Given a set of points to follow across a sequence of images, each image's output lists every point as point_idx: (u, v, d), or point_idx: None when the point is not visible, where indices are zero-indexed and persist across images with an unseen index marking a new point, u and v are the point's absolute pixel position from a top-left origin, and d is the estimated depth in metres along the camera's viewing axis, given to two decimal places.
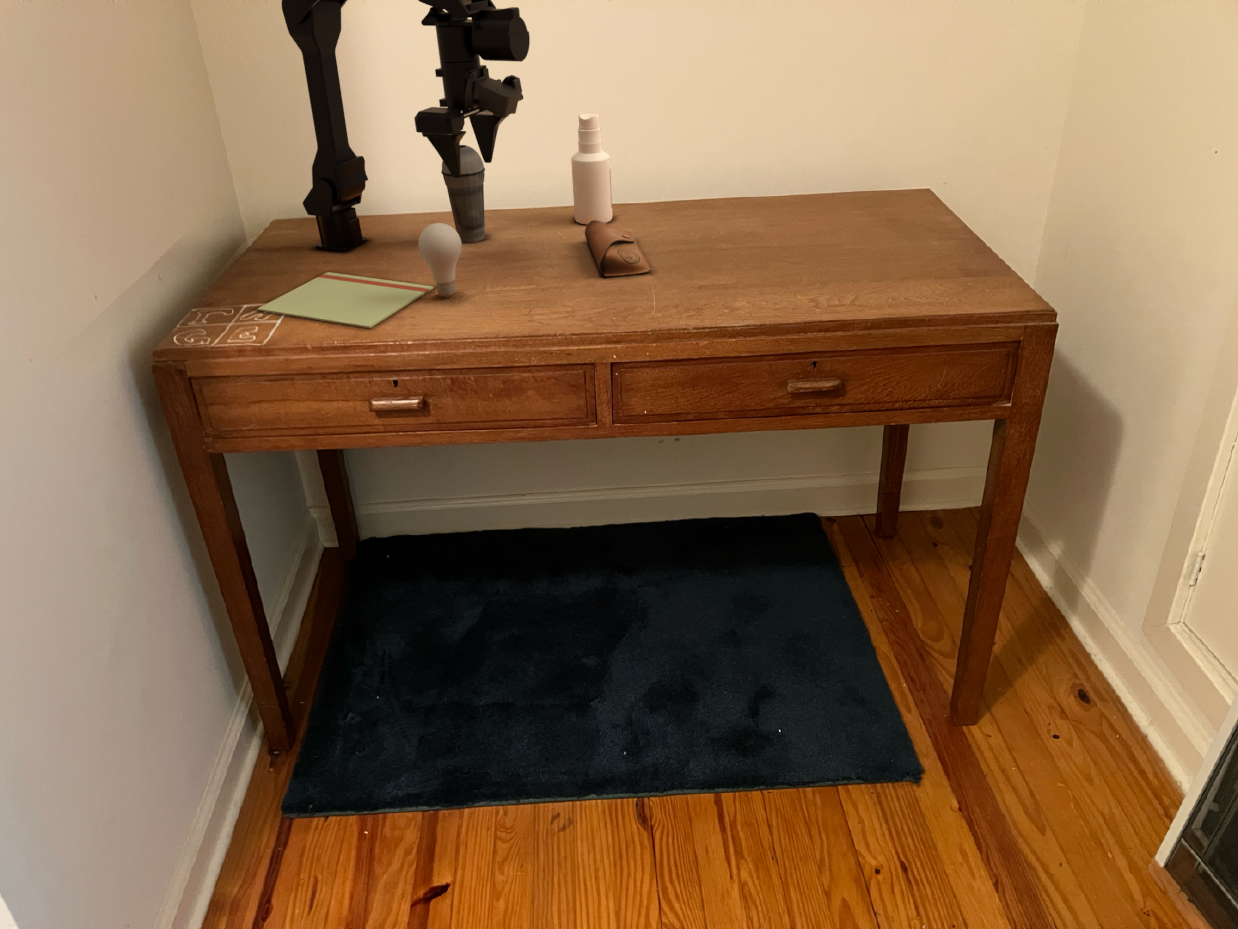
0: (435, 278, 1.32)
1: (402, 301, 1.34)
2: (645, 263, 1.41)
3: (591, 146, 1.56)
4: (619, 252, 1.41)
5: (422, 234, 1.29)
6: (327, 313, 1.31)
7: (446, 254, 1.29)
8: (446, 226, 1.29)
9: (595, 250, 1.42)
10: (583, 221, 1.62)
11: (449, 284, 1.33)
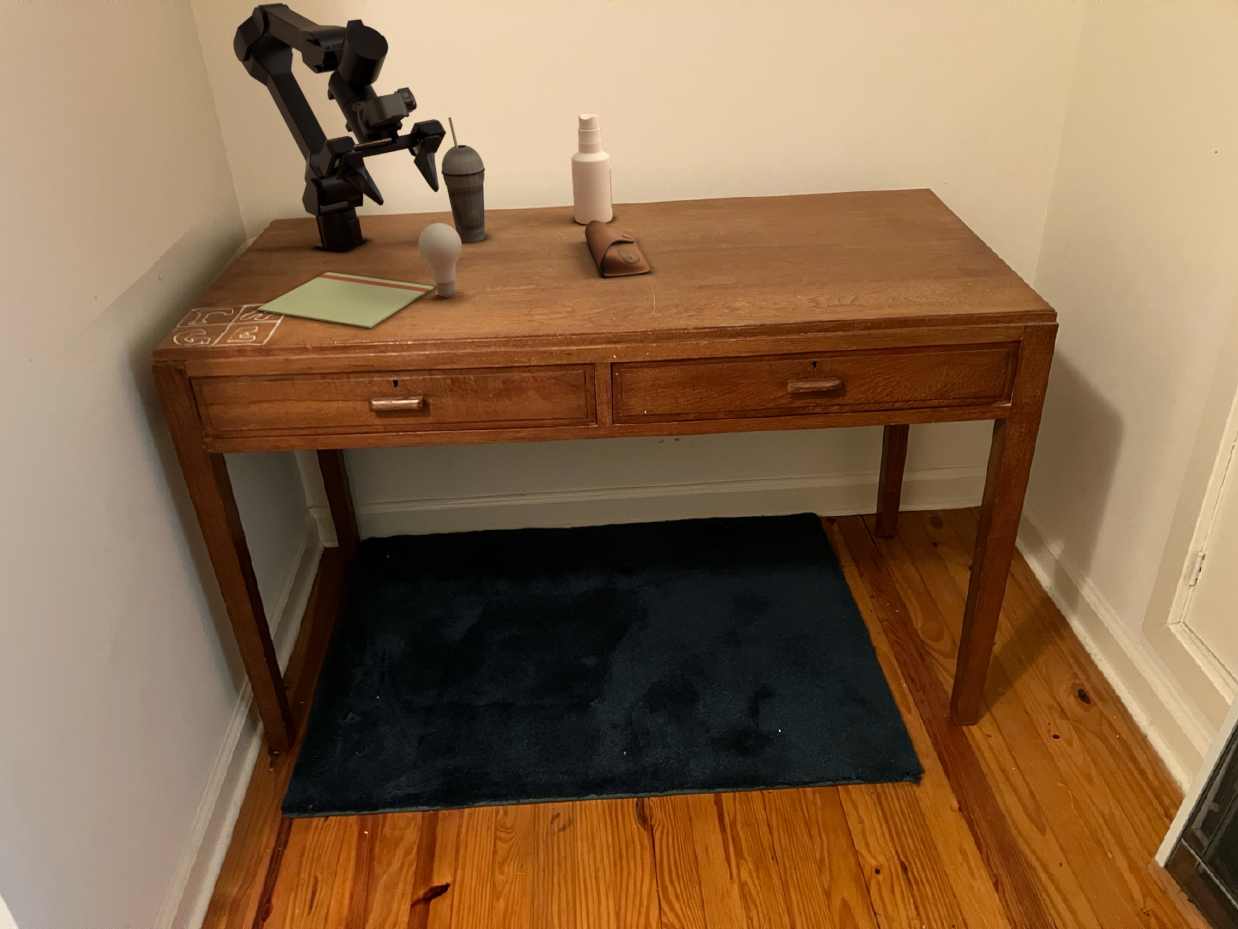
0: (435, 278, 1.32)
1: (402, 301, 1.34)
2: (645, 263, 1.41)
3: (591, 146, 1.56)
4: (619, 252, 1.41)
5: (422, 234, 1.29)
6: (327, 313, 1.31)
7: (446, 254, 1.29)
8: (446, 226, 1.29)
9: (595, 250, 1.42)
10: (583, 221, 1.62)
11: (449, 284, 1.33)
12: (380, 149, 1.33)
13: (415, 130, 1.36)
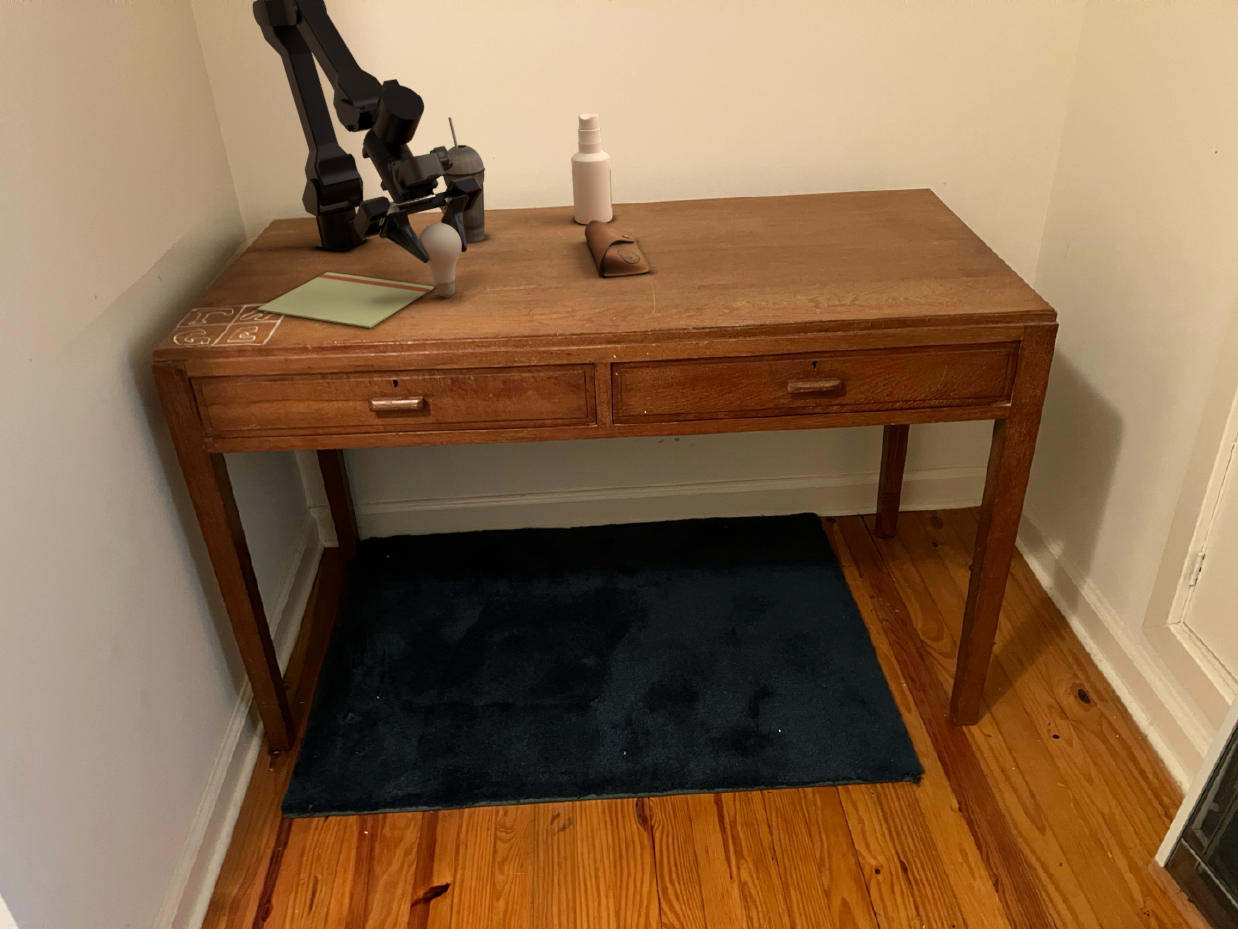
0: (435, 278, 1.32)
1: (402, 301, 1.34)
2: (645, 263, 1.41)
3: (591, 146, 1.56)
4: (619, 252, 1.41)
5: (422, 234, 1.29)
6: (327, 313, 1.31)
7: (446, 254, 1.29)
8: (446, 226, 1.29)
9: (595, 250, 1.42)
10: (583, 221, 1.62)
11: (449, 284, 1.33)
12: (407, 210, 1.30)
13: (451, 188, 1.33)
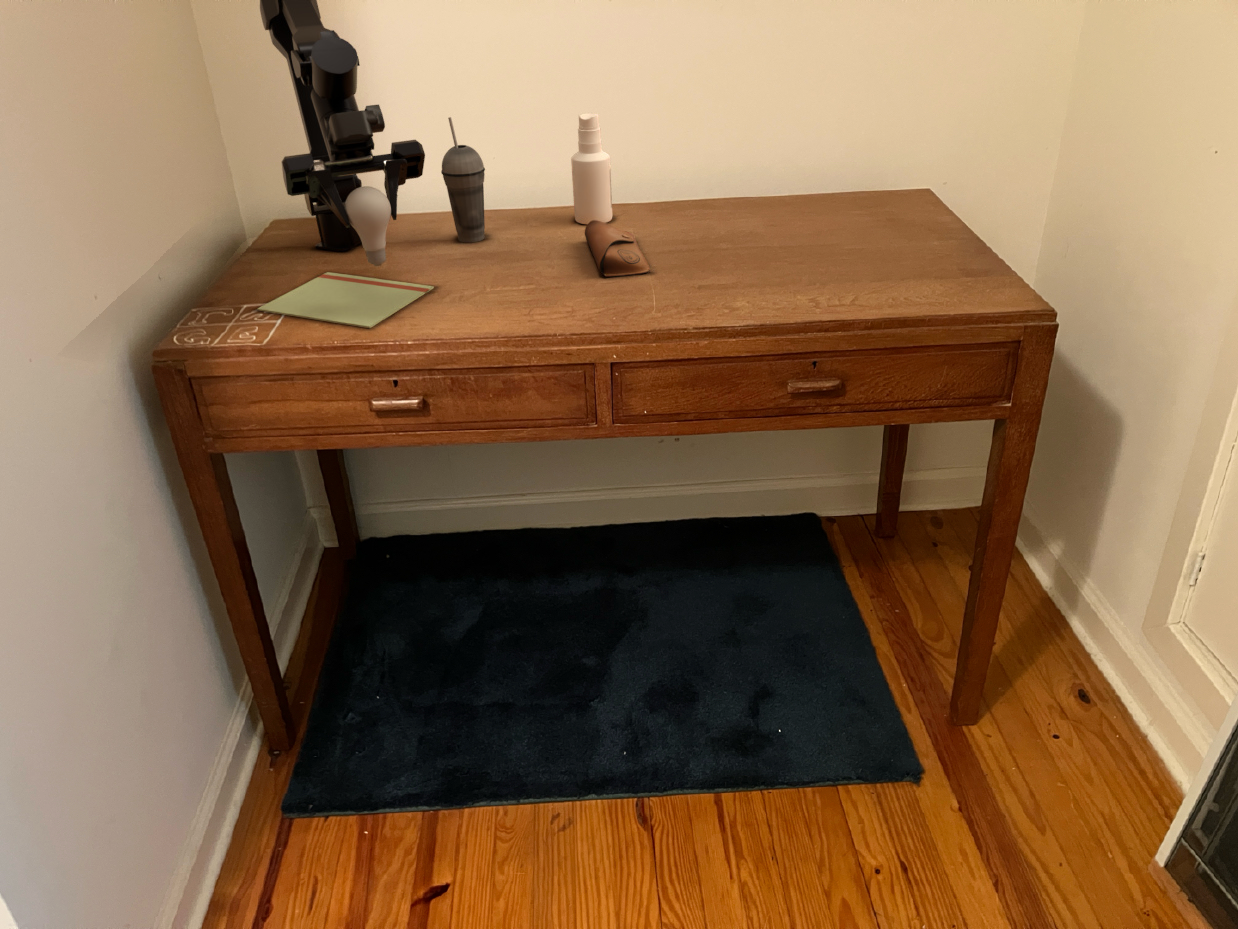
0: (362, 244, 1.26)
1: (402, 301, 1.34)
2: (645, 263, 1.41)
3: (591, 146, 1.56)
4: (619, 252, 1.41)
5: (347, 197, 1.22)
6: (327, 313, 1.31)
7: (367, 220, 1.22)
8: (372, 190, 1.22)
9: (595, 250, 1.42)
10: (583, 221, 1.62)
11: (376, 252, 1.26)
12: (339, 170, 1.24)
13: (392, 150, 1.26)
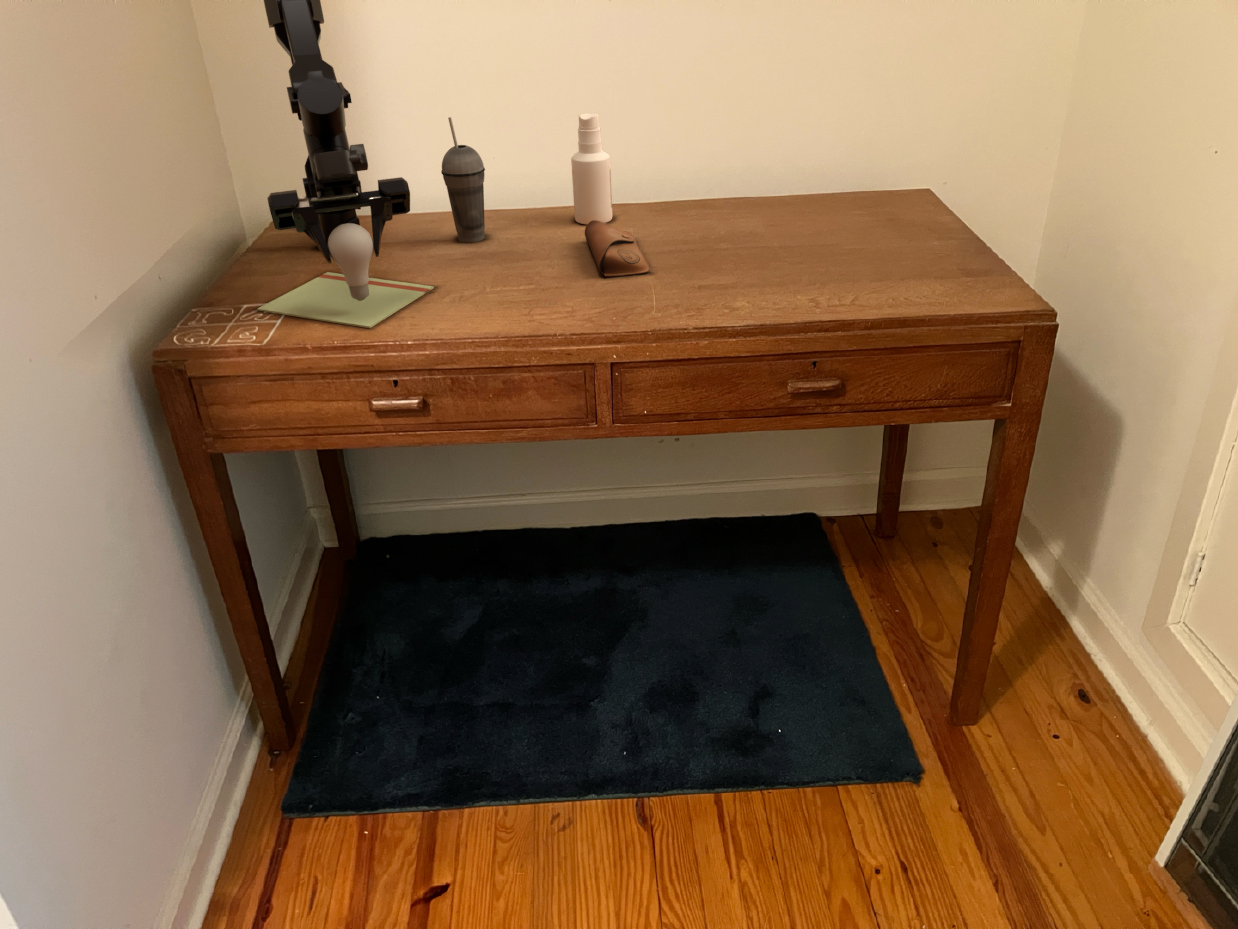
0: (345, 279, 1.28)
1: (402, 301, 1.34)
2: (645, 263, 1.41)
3: (591, 146, 1.56)
4: (619, 252, 1.41)
5: None
6: (327, 313, 1.31)
7: (348, 257, 1.23)
8: (354, 228, 1.24)
9: (595, 250, 1.42)
10: (583, 221, 1.62)
11: (358, 288, 1.28)
12: (325, 206, 1.26)
13: (379, 188, 1.27)
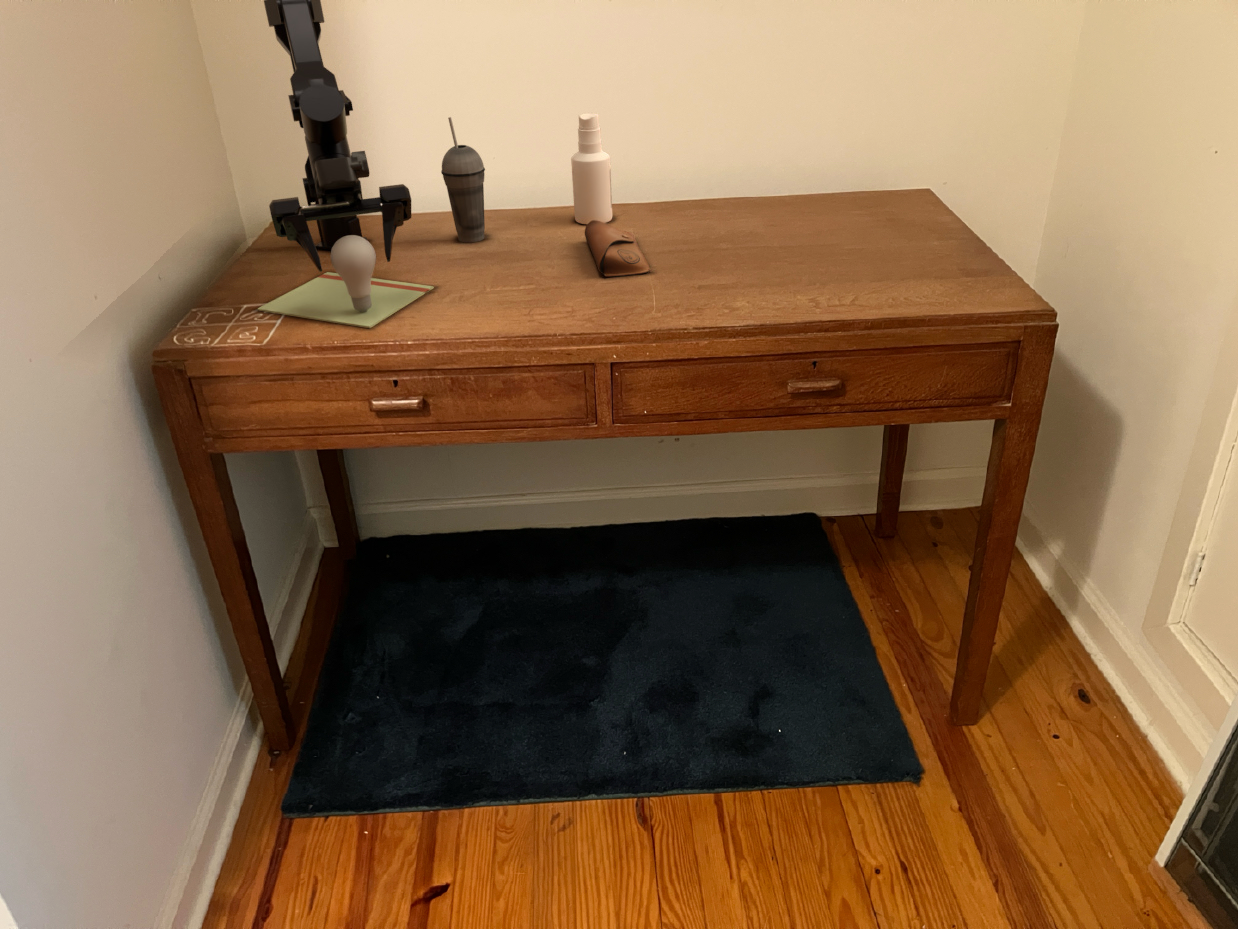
0: (348, 291, 1.28)
1: (402, 301, 1.34)
2: (645, 263, 1.41)
3: (591, 146, 1.56)
4: (619, 252, 1.41)
5: (333, 245, 1.25)
6: (327, 313, 1.31)
7: (350, 269, 1.24)
8: (357, 240, 1.25)
9: (595, 250, 1.42)
10: (583, 221, 1.62)
11: (360, 299, 1.28)
12: (337, 212, 1.26)
13: (380, 195, 1.27)
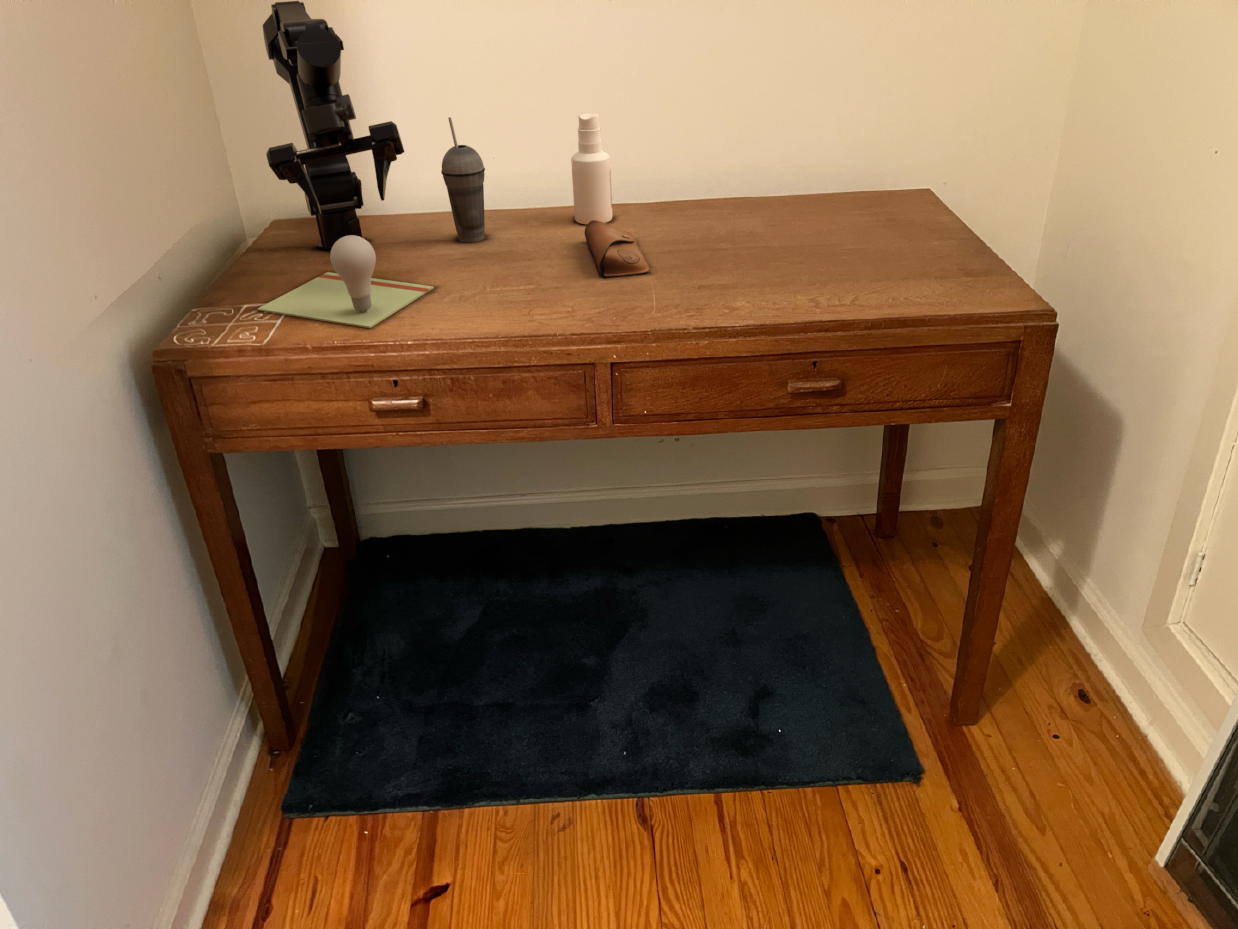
0: (348, 291, 1.28)
1: (402, 301, 1.34)
2: (645, 263, 1.41)
3: (591, 146, 1.56)
4: (619, 252, 1.41)
5: (333, 245, 1.25)
6: (327, 313, 1.31)
7: (350, 269, 1.24)
8: (356, 240, 1.24)
9: (595, 250, 1.42)
10: (583, 221, 1.62)
11: (360, 299, 1.28)
12: (331, 154, 1.32)
13: None
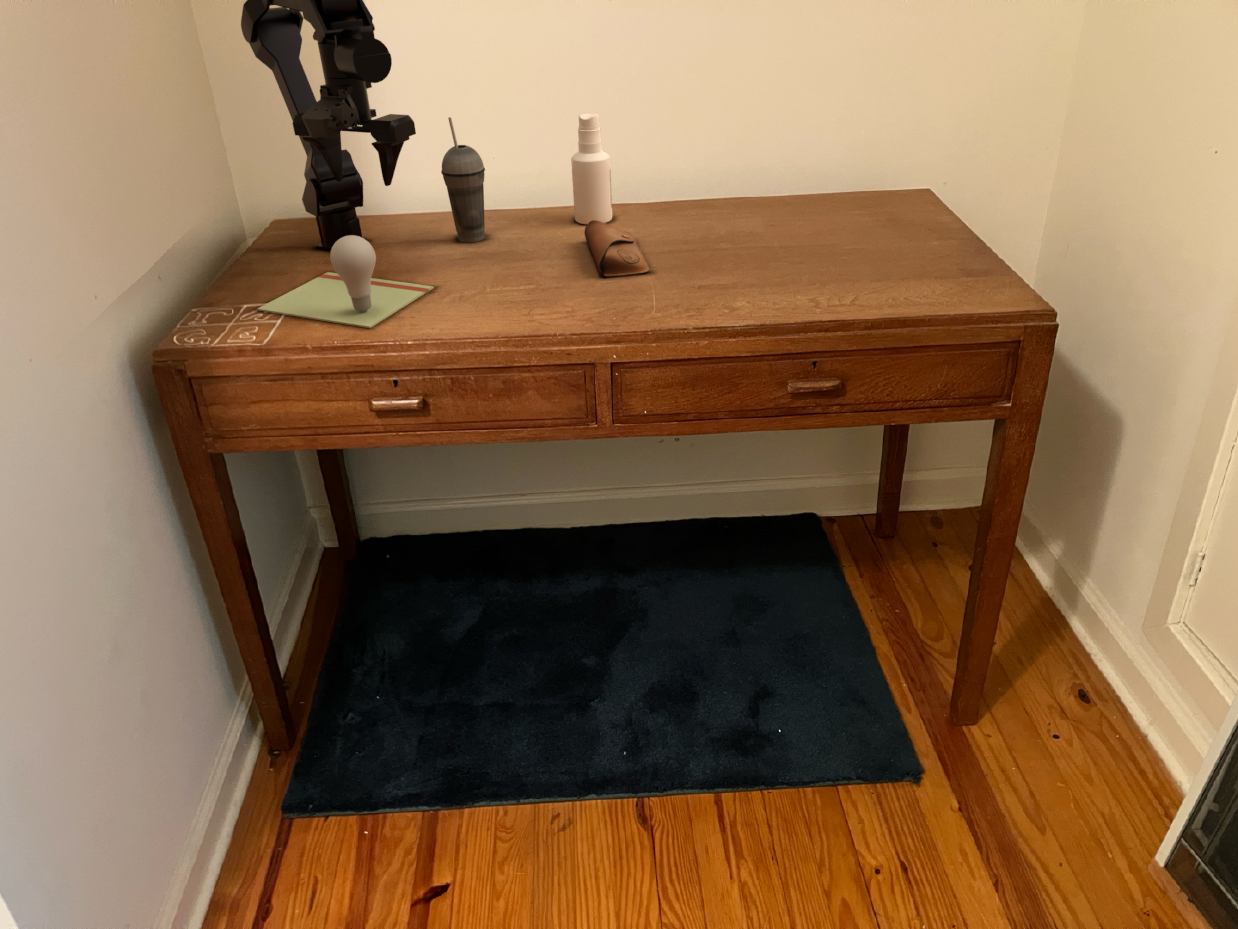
0: (348, 291, 1.28)
1: (402, 301, 1.34)
2: (645, 263, 1.41)
3: (591, 146, 1.56)
4: (619, 252, 1.41)
5: (333, 245, 1.25)
6: (327, 313, 1.31)
7: (350, 269, 1.24)
8: (356, 240, 1.24)
9: (595, 250, 1.42)
10: (583, 221, 1.62)
11: (360, 299, 1.28)
12: (348, 129, 1.38)
13: None
